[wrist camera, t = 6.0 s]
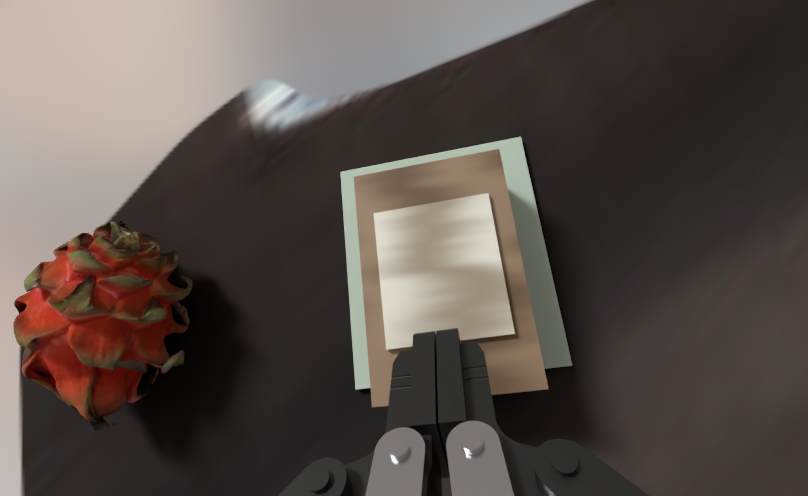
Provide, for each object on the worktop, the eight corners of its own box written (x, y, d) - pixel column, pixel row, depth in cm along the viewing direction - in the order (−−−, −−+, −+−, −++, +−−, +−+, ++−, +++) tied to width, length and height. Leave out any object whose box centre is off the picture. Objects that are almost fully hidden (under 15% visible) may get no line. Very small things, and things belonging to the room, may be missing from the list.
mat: (520, 140, 26) (520, 136, 25) (570, 365, 21) (572, 365, 21) (342, 174, 27) (340, 171, 27) (357, 389, 23) (355, 389, 23)
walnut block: (536, 384, 21) (496, 181, 25) (549, 389, 17) (499, 145, 21) (390, 399, 22) (372, 203, 26) (370, 407, 18) (352, 174, 22)
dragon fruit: (197, 235, 30) (191, 399, 28) (53, 229, 26) (37, 418, 25) (192, 210, 23) (184, 432, 21) (-10, 197, 19) (-40, 466, 17)
